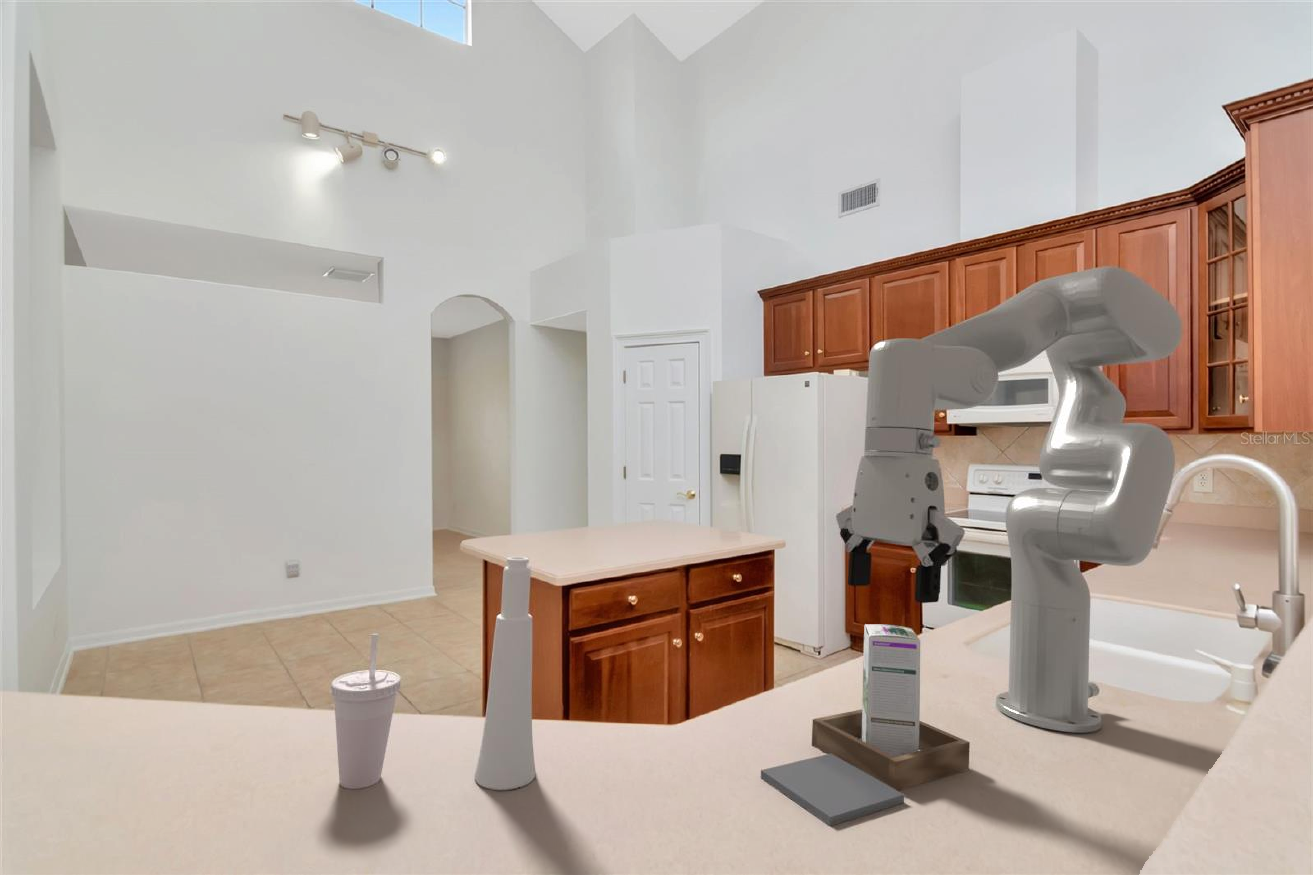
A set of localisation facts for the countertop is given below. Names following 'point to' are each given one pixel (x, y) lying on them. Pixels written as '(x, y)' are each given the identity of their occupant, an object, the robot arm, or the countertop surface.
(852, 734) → the brown wooden square frame
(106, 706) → the countertop surface
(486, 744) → the cosmetic bottle
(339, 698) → the smoothie
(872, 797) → the plate
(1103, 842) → the countertop surface
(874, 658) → the syrup box
